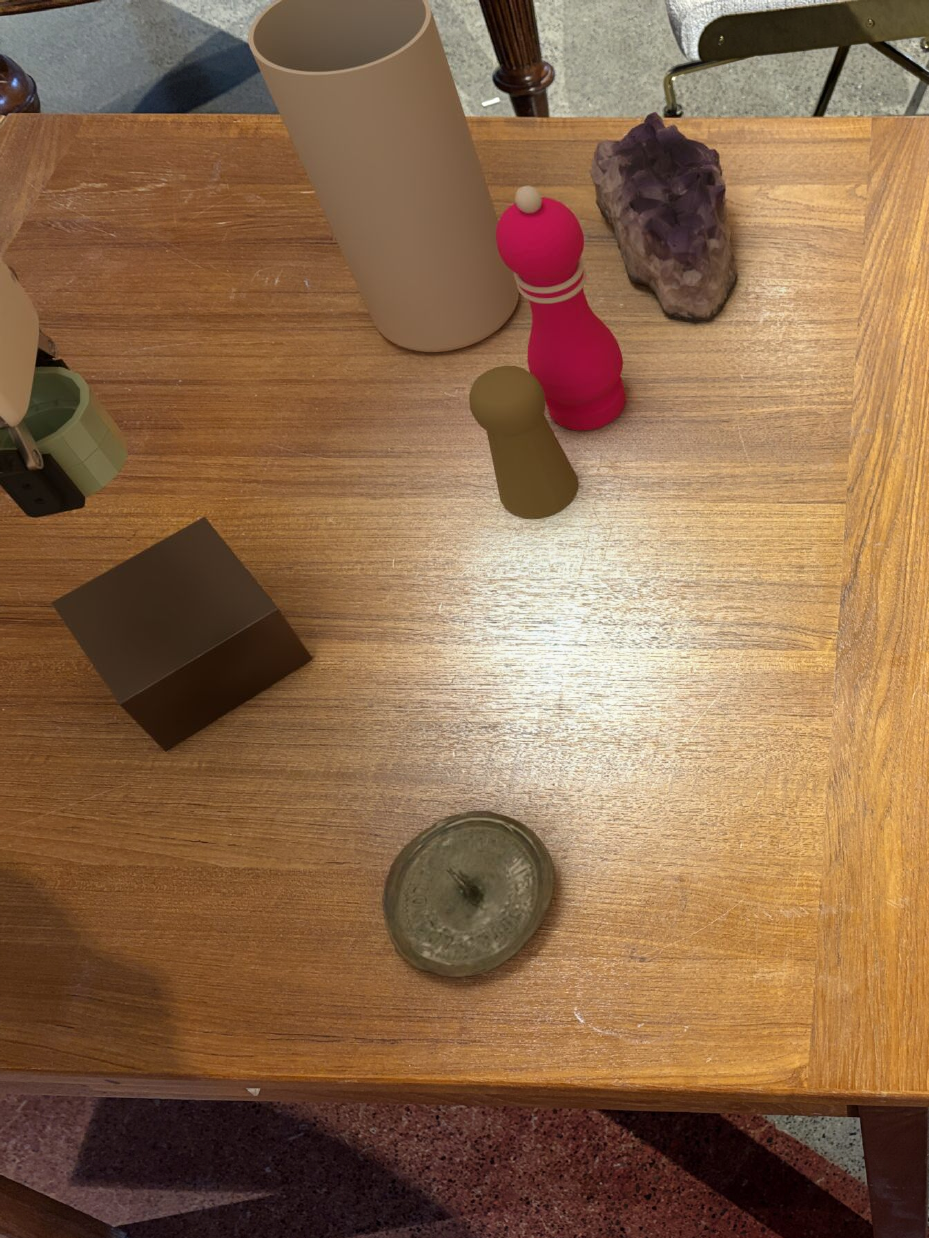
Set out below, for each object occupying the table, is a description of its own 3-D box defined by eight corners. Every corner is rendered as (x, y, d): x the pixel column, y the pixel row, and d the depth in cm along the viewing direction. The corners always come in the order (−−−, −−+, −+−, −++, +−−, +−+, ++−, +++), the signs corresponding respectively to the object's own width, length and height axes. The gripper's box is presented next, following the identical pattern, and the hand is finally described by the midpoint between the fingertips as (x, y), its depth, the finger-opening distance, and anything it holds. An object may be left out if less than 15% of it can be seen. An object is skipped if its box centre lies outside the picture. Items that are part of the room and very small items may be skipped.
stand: (165, 752, 85) (119, 704, 80) (97, 653, 90) (50, 602, 85) (313, 659, 89) (278, 608, 84) (241, 569, 94) (204, 515, 89)
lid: (569, 840, 83) (549, 787, 79) (557, 967, 75) (534, 915, 72) (407, 864, 82) (379, 812, 79) (378, 994, 75) (347, 943, 72)
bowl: (37, 532, 74) (-14, 473, 70) (-8, 467, 77) (-60, 407, 73) (152, 470, 77) (108, 410, 73) (103, 410, 80) (59, 349, 76)
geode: (784, 302, 109) (760, 210, 101) (658, 352, 108) (622, 263, 100) (712, 162, 119) (684, 67, 111) (596, 206, 118) (559, 114, 110)
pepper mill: (574, 450, 100) (507, 236, 83) (525, 401, 103) (451, 186, 87) (650, 405, 103) (599, 190, 86) (599, 359, 106) (541, 143, 89)
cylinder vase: (521, 252, 114) (434, -32, 93) (521, 347, 107) (426, 64, 86) (379, 268, 113) (259, -14, 92) (369, 365, 106) (237, 83, 85)
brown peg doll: (491, 474, 99) (448, 367, 90) (566, 450, 100) (532, 342, 91) (510, 528, 96) (467, 424, 87) (588, 503, 97) (554, 397, 88)
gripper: (-187, 120, 66) (14, 376, 81) (-262, 341, 56) (-19, 586, 71) (-34, 95, 67) (137, 352, 82) (-82, 308, 57) (121, 556, 72)
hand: (63, 460), depth 76 cm, fingers closed on bowl, 7 cm apart
